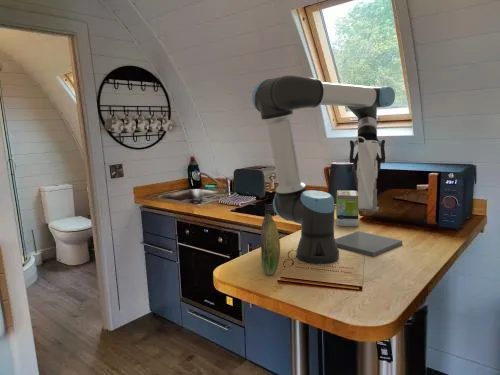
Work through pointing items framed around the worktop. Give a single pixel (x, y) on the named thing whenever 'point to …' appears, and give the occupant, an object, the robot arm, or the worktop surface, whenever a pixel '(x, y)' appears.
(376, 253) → the charcoal board
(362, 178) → the skyscraper
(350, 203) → the tea box
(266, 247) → the vegetable
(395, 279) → the worktop surface
